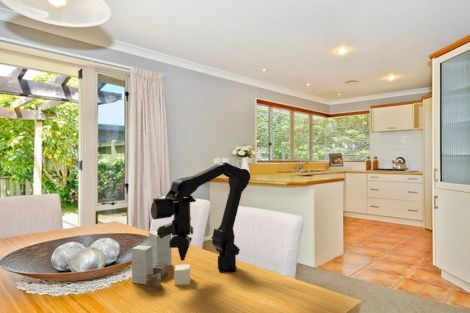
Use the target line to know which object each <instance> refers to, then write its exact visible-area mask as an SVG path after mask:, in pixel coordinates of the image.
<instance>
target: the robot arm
mask: <svg viewBox="0 0 470 313" xmlns="http://www.w3.org/2000/svg"><path fill="white" fill-rule="evenodd" d="M222 175H224V176H225V177H227V178H228V186H229V191H228V192H229V193H228V194H227V195H228V196H227V199H226V203H225V208H224V211H223V216H222V219H221V224H220V226H218V228H214V229H213V231H212V232H213V233H212V237H211V243H212V246H213V247H214V248H215V251H216V252H218V253H219V255H218V256H217V269H218V272H219V273H229V272H231V273H232V272H234V273H235V272H237V265H236V264H237V262H236V261H237V258H236V256H239V254H240V249H241V248H239V247H238V246H237V245H236V244H235V232H234V226H235V222H236V218H237V214H238V209H239V205H240V202H241V197H242V194H243V192H244V190H245V189H246V188H247V187H248V185H249V183H250V180H251V173H250V171H249V170H248V169H247V168H241V167H237V166H235V165H232V164H230V163H228V162H225V161H224V162H218V163H217V164H215V165H213V166H211V167H209V168H207V169H205V170H202V171H201V172H198V173H195V174H194V175H191V176H186V177H181V178H179V179H175V180H173V181H172V183H171V187H170V189H169V191H168V192H167V193H166V195H165V197H164V198H159V197H158V198H153V199H152V203H151V206H150V215H151V218H152V220H161V219H167V218H172V216H173V220H171V222H168V223H167V224H163V225H160V226H159V227H158V228H157V229H156V231H157V235H159V238H160V239H161V238H163V237H165V236H167V235H170V234H171V240H170V241H169V247H170V248H171V249H173V248H175V249H177V251H178V254H179V258H180V261H181V262H182V261H185V259H186V256H187V254H188V252H189V251H188V250H189V248H190V246H191V242H192V239H193V238H192V237H189V236H191V235H193V234H194V227H193V226H192V225H191V222H192V221H191V220H192V217H191V203H196V201H197V200H196V199H195V198H194V197H193V195H192V194H193V193H194V192H196V191H197V190H198V188H199V187H201V186H202V185H204V184H206V183H208V182H210V181H212V180H214V179H216V178H218V177H220V176H222Z"/></svg>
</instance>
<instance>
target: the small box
mask: <svg viewBox="0 0 470 313" xmlns="http://www.w3.org/2000/svg"><path fill="white" fill-rule="evenodd" d="M171 238H172V234H170V235H167V236H165V237H163V238H161V239H160V238H159V235H157V230H152V231H148V246H152V247H153V265H155V264H156V263H161V264H168V267H169V266H172V248H170V247H169V241H170V240H171Z"/></svg>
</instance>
